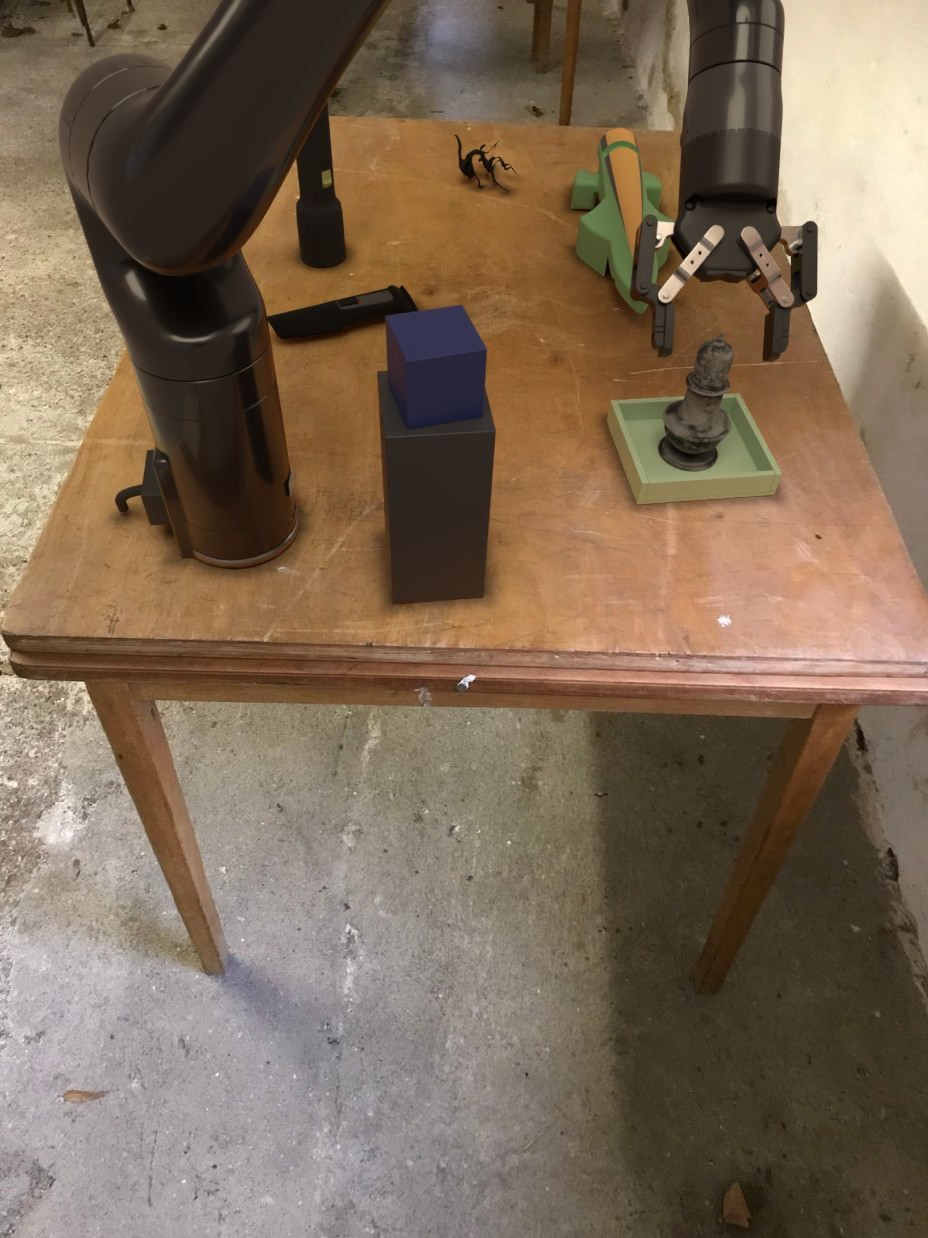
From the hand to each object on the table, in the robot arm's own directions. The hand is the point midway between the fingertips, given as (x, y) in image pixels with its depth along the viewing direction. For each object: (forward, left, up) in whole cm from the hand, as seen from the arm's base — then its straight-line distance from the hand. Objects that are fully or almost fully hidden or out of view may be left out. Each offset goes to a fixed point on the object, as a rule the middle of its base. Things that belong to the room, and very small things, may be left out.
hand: (718, 357), depth 72 cm
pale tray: (0, 0, -11) cm, 11 cm away
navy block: (-24, -11, +5) cm, 27 cm away
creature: (-10, +54, -11) cm, 56 cm away
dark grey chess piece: (0, +1, -10) cm, 10 cm away
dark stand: (-24, -11, -11) cm, 28 cm away
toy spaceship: (+3, +35, -11) cm, 37 cm away
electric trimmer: (-29, +23, -11) cm, 39 cm away
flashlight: (-31, +37, -11) cm, 50 cm away
